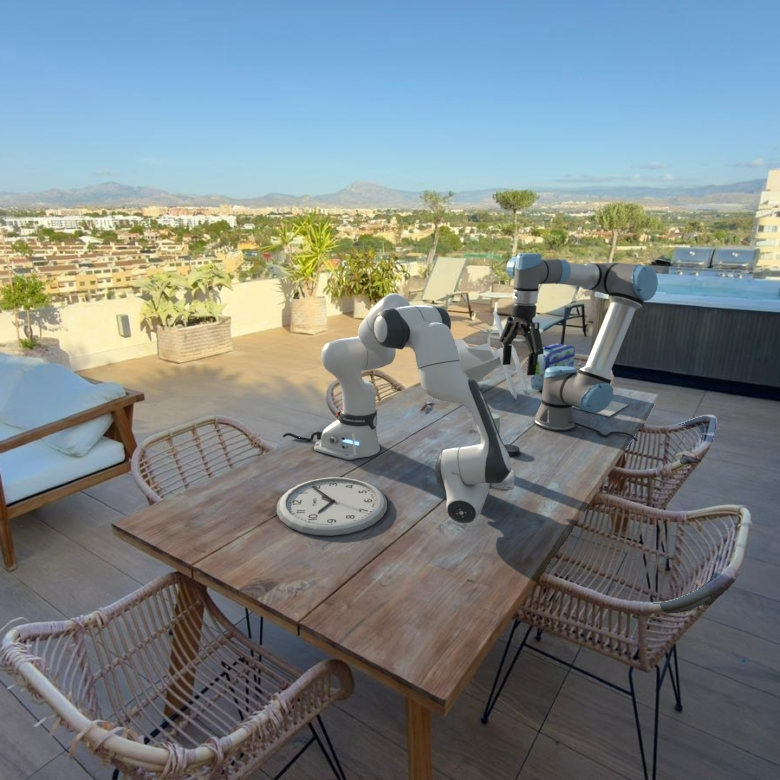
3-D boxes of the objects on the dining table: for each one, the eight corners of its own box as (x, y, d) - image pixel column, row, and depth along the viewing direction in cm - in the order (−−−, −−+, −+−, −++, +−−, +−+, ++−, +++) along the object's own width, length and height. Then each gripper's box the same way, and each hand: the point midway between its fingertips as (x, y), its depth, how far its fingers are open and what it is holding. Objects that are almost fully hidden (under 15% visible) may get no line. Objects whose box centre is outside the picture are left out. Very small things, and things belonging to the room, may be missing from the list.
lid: (513, 458, 174) (513, 453, 174) (496, 452, 178) (497, 448, 178) (522, 452, 179) (523, 447, 178) (506, 447, 183) (506, 442, 182)
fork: (417, 411, 216) (418, 406, 216) (428, 400, 231) (428, 395, 230) (423, 412, 215) (424, 407, 215) (434, 400, 230) (434, 396, 229)
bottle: (477, 465, 168) (481, 412, 163) (494, 466, 168) (499, 413, 162) (479, 473, 163) (483, 418, 158) (497, 474, 163) (501, 419, 157)
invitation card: (608, 416, 214) (573, 407, 224) (608, 416, 214) (573, 408, 224) (628, 404, 229) (594, 396, 238) (628, 405, 229) (594, 397, 238)
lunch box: (547, 395, 239) (552, 351, 233) (526, 390, 247) (530, 347, 240) (574, 384, 257) (579, 343, 251) (554, 380, 264) (558, 339, 258)
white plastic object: (461, 429, 252) (437, 405, 227) (444, 352, 274) (420, 323, 250) (535, 404, 240) (518, 377, 215) (510, 326, 262) (492, 293, 237)
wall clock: (392, 527, 129) (268, 531, 127) (391, 533, 130) (269, 537, 127) (383, 473, 158) (282, 475, 155) (383, 478, 158) (282, 480, 156)
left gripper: (513, 480, 136) (519, 458, 149) (437, 467, 143) (449, 447, 155) (511, 501, 138) (517, 478, 151) (436, 487, 144) (447, 466, 157)
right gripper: (492, 299, 173) (487, 361, 180) (539, 310, 151) (532, 380, 158) (511, 298, 176) (506, 359, 182) (560, 309, 154) (552, 378, 160)
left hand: (482, 462), depth 153 cm, fingers open, 8 cm apart
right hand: (518, 369), depth 170 cm, fingers open, 13 cm apart
